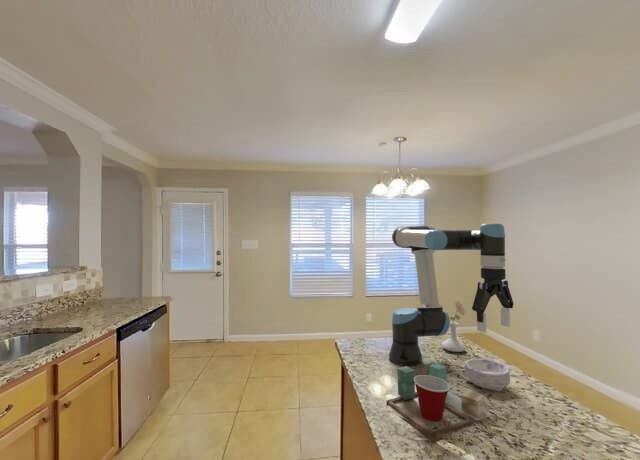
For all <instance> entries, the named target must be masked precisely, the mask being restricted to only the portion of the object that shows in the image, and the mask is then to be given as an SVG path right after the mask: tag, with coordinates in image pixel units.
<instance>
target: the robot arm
mask: <svg viewBox="0 0 640 460" xmlns="http://www.w3.org/2000/svg"><path fill="white" fill-rule="evenodd" d="M391 239H392V242H393V244H394V245H395V246H396V247H399V248H400V249H410V251H411V254H412V255H414V258H415V266H416V267H415V268H416V276H417V285H418V296H419V305H418V306H417V308H414V307H413V308H412V307H403V308H397V309H396V310H394V311H393V312H392V319H391V322H392V324H391V325H392V327H391V328H392V344H391V345H390V346H391V347H390V349H389V353H388V359H389V361H390V362H392V363H393V364H395V365H396V364H397V365H399V366H404V367H405V366H407V367H414V366H418V365H422V364H423V355H422V353H421V349H420V346H419V345H420V344H419V338H420V337H424V338H425V337H439V336H443V335H446V334H447V332H448V331H449V330H450V322H451V321H450V320H451V319H450V316H449V315H448V312H447V311H446V310H444V307H443V306H442V305H441V304H440V303H439V296H438V288H437V287H438V286H437V279H436V271H435V269H436V268H435V262H434V254H435V252H436V251H452V250H453V251H474V250H475V251H480V254H479V255H480V266H481V268H480V277H481V279H483V282H482V281H480V282H477V287H476V288H477V289H476V292H475V293H476V294H475V295H474V300H473V302H472V303H473V304H472V307H471V310H472V311H473V312H476V326H477V327H476V328H477V329H476V330H477V331H478V332H481V333H487V312H485V311H486V308H487V306H488V304H489V302H490V300H491V298H493V297H494V296H495V295H496V298H497V299H498V301H499V303H500V304H501V307H500V325H501V326H503V327H507V328H509V327H511V322H510V319H511V318H510V317H511V316H510V309H513V308H514V300H513V297H512V294H511V291H510V289H509V288H510V287H509V281H508V280H506V275H507V274H506V269H505V267H506V261H507V260H506V234H505V225H503V224H502V223H482V224H480V226H479V229H474V230H473V229H472V230H471V229H469V230H468V229H466V230H464V229H463V230H462V229H460V230H459V229H458V230H457V229H453V230H452V229H451V230H450V229H436V228H435V227H433V226H431V225H402V226H398V227H396V229H394V230H393V232H392V235H391Z"/></svg>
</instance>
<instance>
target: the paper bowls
mask: <svg viewBox="0 0 640 460" xmlns="http://www.w3.org/2000/svg"><path fill="white" fill-rule="evenodd" d="M510 373H511V371H510V368H509V367H508V366H506V364H503V363H501V362H499V361H496V360H491V359H487V358H470V359H467V360H465V362H464V375H465V378H466V379H467V380H469V381H470V382H471V383H472V384H474V385H476V386H477V387H479V388H483V389H487V390H491V391H492V390H493V391H495V392H501V391H502V390H504V388H505V387H508V386H509V385H510V384H511V375H510Z"/></svg>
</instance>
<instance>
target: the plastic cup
mask: <svg viewBox="0 0 640 460" xmlns="http://www.w3.org/2000/svg"><path fill="white" fill-rule="evenodd" d="M414 382H415V391H416V392H417V395H418V396H417V400H418V406H419V410H420V411H419V412H420V415H421V417H422V418H423V419H424V420H426V421H428V422H434V423H435V422H441V421H442V420H443V416H444V413H445V412H444V411H445V408H444V407H445V403H446V402H445V401H446V396H447V393H448V391H449V392H450V389H451V385H450V384H449V382H446V381H444V380H442V379H440V378H438V377H434V376H430V374H429V375H428V374H418V375H415V377H414Z"/></svg>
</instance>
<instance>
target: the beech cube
mask: <svg viewBox="0 0 640 460" xmlns="http://www.w3.org/2000/svg"><path fill="white" fill-rule="evenodd" d="M460 396H461V397H460V398H461V402H462V411H463V412H466V413H468V414H471V415H473V416H475V417H480V416H481V415H482V414H483V413H484V412H485V411H486V409H485V395H483V394H481V393H478V392H475V391H473V390H470V389H468V390H467V389H466V390H465V392H463V393H462V394H461V395H460ZM463 412H462V413H463Z"/></svg>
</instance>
